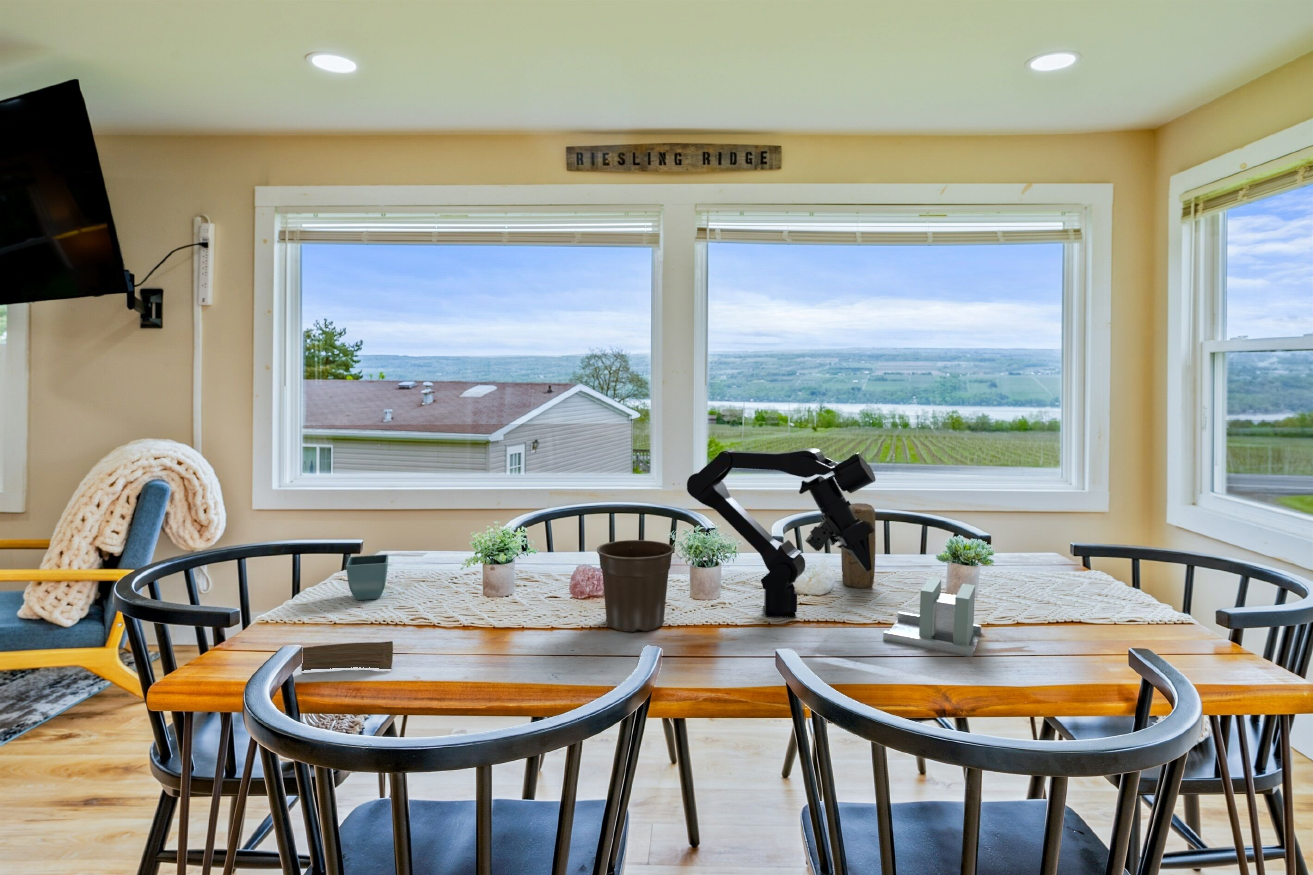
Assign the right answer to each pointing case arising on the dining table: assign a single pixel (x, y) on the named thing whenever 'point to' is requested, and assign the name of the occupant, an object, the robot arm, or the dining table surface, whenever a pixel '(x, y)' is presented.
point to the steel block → (944, 617)
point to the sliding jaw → (928, 607)
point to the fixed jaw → (964, 615)
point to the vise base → (908, 634)
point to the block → (850, 567)
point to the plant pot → (635, 583)
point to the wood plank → (349, 656)
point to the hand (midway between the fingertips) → (869, 570)
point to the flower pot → (367, 576)
